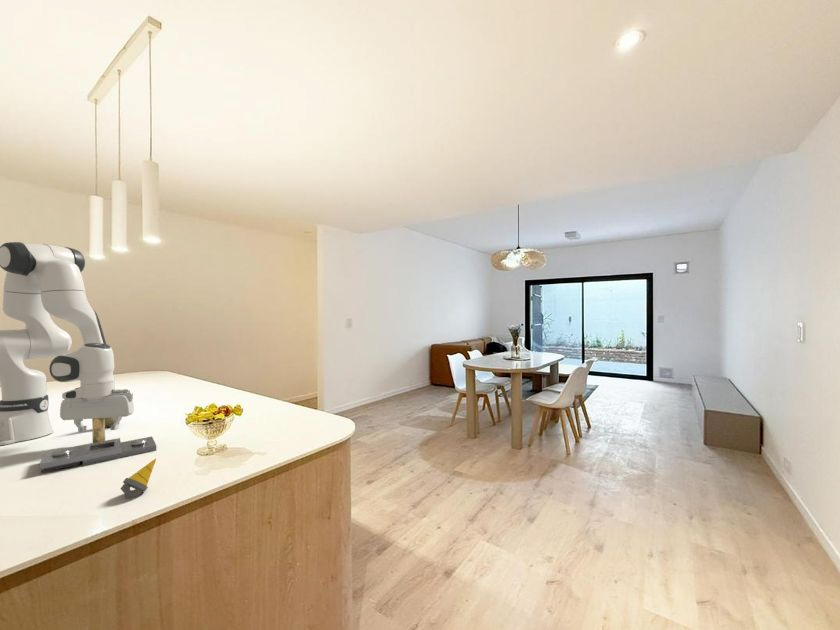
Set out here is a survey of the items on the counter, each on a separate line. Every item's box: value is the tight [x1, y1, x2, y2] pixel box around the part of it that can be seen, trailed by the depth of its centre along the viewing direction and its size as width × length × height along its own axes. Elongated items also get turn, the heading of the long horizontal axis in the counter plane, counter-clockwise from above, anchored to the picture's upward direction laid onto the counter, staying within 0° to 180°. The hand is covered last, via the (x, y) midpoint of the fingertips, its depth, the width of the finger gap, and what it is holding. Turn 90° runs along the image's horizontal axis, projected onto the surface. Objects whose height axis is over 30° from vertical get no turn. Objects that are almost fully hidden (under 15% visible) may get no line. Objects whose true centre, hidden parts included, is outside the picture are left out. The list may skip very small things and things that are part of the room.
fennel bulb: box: [105, 417, 121, 428], centre depth 142 cm, size 6×5×12 cm
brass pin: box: [91, 418, 106, 443], centre depth 124 cm, size 3×3×10 cm
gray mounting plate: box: [39, 436, 157, 473], centre depth 112 cm, size 26×12×4 cm, turn 132°
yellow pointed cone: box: [120, 458, 157, 500], centre depth 89 cm, size 5×5×10 cm
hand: (98, 430), depth 124 cm, fingers open, 8 cm apart
